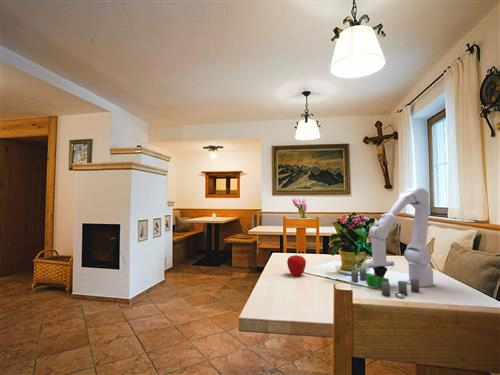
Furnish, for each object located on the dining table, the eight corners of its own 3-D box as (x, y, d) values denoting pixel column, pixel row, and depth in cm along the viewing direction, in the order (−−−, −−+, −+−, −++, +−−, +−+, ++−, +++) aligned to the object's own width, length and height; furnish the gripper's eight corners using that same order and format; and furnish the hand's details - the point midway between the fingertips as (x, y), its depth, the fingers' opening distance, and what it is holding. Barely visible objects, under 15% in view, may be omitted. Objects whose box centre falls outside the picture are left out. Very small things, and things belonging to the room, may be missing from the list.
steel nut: (398, 295, 108) (398, 292, 108) (406, 298, 105) (406, 294, 105) (393, 297, 106) (393, 293, 106) (401, 299, 103) (401, 296, 103)
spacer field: (378, 277, 133) (378, 267, 134) (423, 293, 109) (422, 280, 110) (348, 280, 129) (348, 269, 129) (388, 298, 105) (388, 285, 105)
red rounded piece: (307, 277, 134) (307, 256, 134) (288, 278, 134) (288, 256, 134) (304, 272, 143) (303, 252, 144) (286, 272, 144) (286, 252, 144)
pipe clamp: (362, 284, 123) (361, 274, 123) (368, 282, 125) (367, 272, 125) (383, 291, 113) (382, 280, 113) (389, 289, 114) (388, 278, 115)
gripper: (385, 250, 126) (386, 279, 125) (359, 252, 122) (360, 282, 121) (397, 252, 119) (398, 283, 118) (370, 255, 115) (371, 287, 114)
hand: (380, 283), depth 119 cm, fingers closed, pressing on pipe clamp
